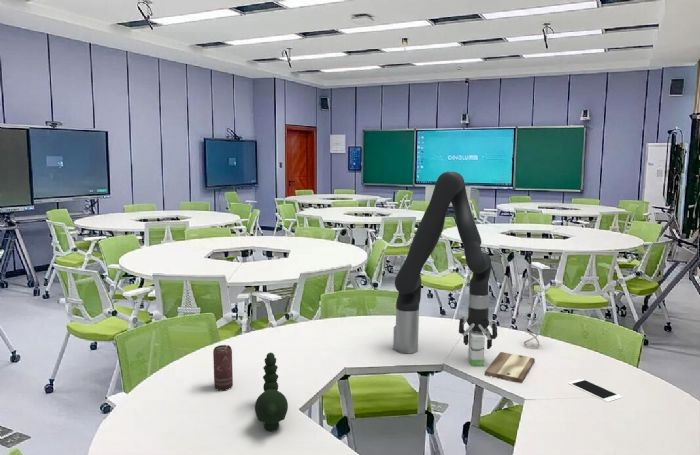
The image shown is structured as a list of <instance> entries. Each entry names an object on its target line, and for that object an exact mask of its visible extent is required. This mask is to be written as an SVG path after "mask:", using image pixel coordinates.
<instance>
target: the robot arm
mask: <svg viewBox="0 0 700 455" xmlns="http://www.w3.org/2000/svg"><path fill="white" fill-rule="evenodd" d="M469 203H470V202H469V198H468V194H467V188H466V183H465V179H464V177H463V176H462V175H461V174H460V173H459V172H457V171H445V172H442V173H441V174H440V175H439V176H438V177H437V179H436V182H435V185H434V188H433V190H432V194H431V198H430V200H429V202H428V205H427V207H426V209H425V211H424V213H423V216H422V218H421V220H420V222H419V224H418V226H417V229H416V231H415V233H414V236H413V239H412V242H411V244H410V246H409V248H408V252H407V255H406V258H405V260H404V262H403V264H402V265H401V268H400V269H399V270H398V271H397V274H396V276H395V278H394V286H395V289H396V291H398V295H397V298H396V303H395V326H393V340H392V342H393V343H392V344H393V345H392V346H393V347H392V348H393V349H392V350H395V352H396V351H397V352H399V353H401V354H414V353H416V352H418V351H419V329H420V328H419V323H420V303H421V299H422V298H421V297H422V276H421V272H422V270H423V267H424V265H425V264H426V262H427V261H428V259H429V258H430V257H431V255H432V253H433V252H434V250H435V248H436V247H437V244H438V242H439V240H440V239H441V235H442V233H443V231H444V227H445V220H446V215H447V213H448V212H447V211H448V209H449V207H450V205H451V204H452V208H453V211H454V218H455V223H456V228H457V232H458V235H459V238H460V241H461V243H462V245H463V250H464V251H463V252H464V258H465V262H466V266H467V268H468V269H469V271H470V272H472V277H471V278H470V280H469V285H468V286H469V287H468V288H469V290H468V291H469V292H468V293H469V294H468V299H467V302H468V305H467V307H468V308H467V318H465V317H464V316H462V317H461V318H459V324H458V334H461V335H462V336H463V342H462V343H463V344H464V345H465V346H469V332H470V331H471V330H473V331H475V332H476V331H477V332H483V334H484V336H486V337H485V338H487V339H486V350H490V349H491V348H492V346H493V340H495V339H496V338H498V322H497V321H494V322H491V321H490V320H489V316H490V315H489V309H490V298H489V286H490V285H489V282H490V277H491V272H492V271H491V270H492V259H491V257H490V255H489V254H488V253H486V252H484V251H482V248H481V245H482V238H481V236H480V232H479V229H478V226H477V224H476V222H475V219H474V215H473V213H472V210H471V206H470V204H469ZM465 324H467V325H468V327H467V329H466V330H465ZM489 326H490V328H491V329H492V331H491V332H490V330H489V328H488V327H489Z"/></svg>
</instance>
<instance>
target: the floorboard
mask: <svg viewBox="0 0 700 455" xmlns="http://www.w3.org/2000/svg"><path fill="white" fill-rule="evenodd" d="M535 360H536V359H535V358H534V357H531V356H527V355H521V354H516V353H509V352H508V353H507V352H502V351H500V352H499V353H498V354H497V356H495V358H494V359H493V360H492V362H491V363H490V364H489V365H488V367H487V368H486V369H485V370H484V376H486V377H490V376H492V377H491V378H495V377H497V378H496V379H499V378H501V379H500V380H504V379H505V381H509V380H510V381H509V382H514V383H518V384H522V383H523V382H524V381H525V379H526V377H527V375H528V373H529V371H530V370H531V369H532V367H533V366H534V364H535Z"/></svg>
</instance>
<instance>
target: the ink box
mask: <svg viewBox="0 0 700 455" xmlns="http://www.w3.org/2000/svg"><path fill="white" fill-rule="evenodd" d="M485 336H486V335H484V333H483V332H477V331H476V332H475V331H473V330H471V331H470V332H469V333H468V348H467V349H468V351H467V359H468V361H469V364H470V365H471V366H472V367H485V366H484V365H485V347H486V346H485V342H486V341H485V340H486V339H485V338H486V337H485Z"/></svg>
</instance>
